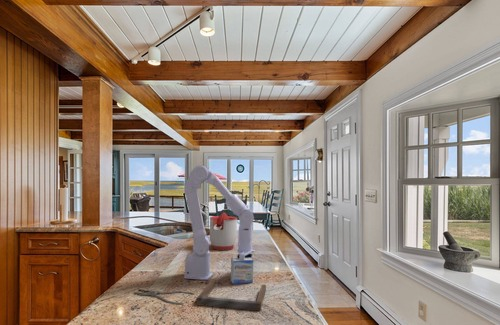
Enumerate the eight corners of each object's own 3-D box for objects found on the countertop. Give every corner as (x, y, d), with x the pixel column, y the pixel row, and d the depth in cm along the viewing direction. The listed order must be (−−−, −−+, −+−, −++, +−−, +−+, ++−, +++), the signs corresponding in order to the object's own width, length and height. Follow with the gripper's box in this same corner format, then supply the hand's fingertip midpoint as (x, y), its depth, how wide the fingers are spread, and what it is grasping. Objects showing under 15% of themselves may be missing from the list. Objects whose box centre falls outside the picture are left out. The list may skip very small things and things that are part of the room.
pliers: (188, 303, 91) (124, 300, 92) (188, 306, 91) (124, 303, 92) (195, 291, 101) (137, 288, 102) (194, 293, 101) (137, 291, 101)
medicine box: (232, 284, 109) (233, 260, 110) (230, 280, 114) (230, 257, 114) (253, 283, 112) (253, 259, 112) (249, 279, 116) (250, 256, 116)
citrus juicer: (202, 250, 158) (203, 213, 159) (215, 244, 175) (216, 210, 176) (229, 253, 153) (230, 215, 154) (240, 246, 170) (241, 211, 171)
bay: (196, 304, 91) (196, 297, 92) (211, 286, 107) (211, 280, 107) (260, 310, 88) (260, 303, 88) (265, 290, 104) (265, 284, 104)
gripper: (252, 243, 112) (251, 279, 111) (257, 235, 126) (256, 268, 125) (234, 242, 113) (233, 278, 112) (241, 234, 127) (240, 266, 126)
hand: (244, 272), depth 119 cm, fingers closed
